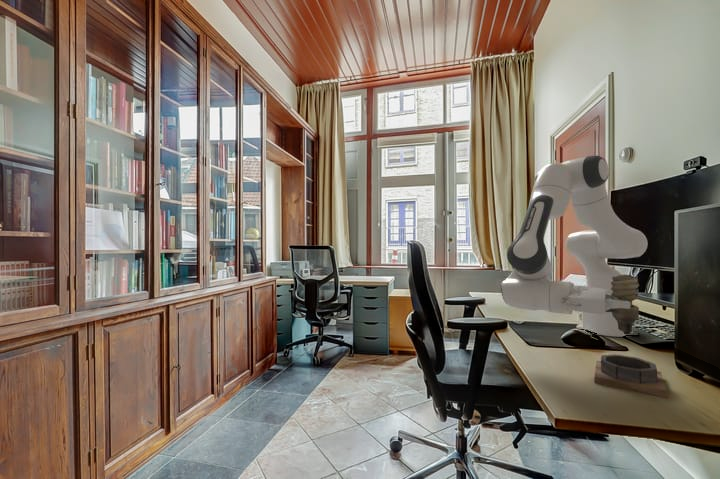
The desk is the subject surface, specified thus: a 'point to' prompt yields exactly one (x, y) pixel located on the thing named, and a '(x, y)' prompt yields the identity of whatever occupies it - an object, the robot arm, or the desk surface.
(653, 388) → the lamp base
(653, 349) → the desk surface
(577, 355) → the desk surface
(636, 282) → the light bulb
